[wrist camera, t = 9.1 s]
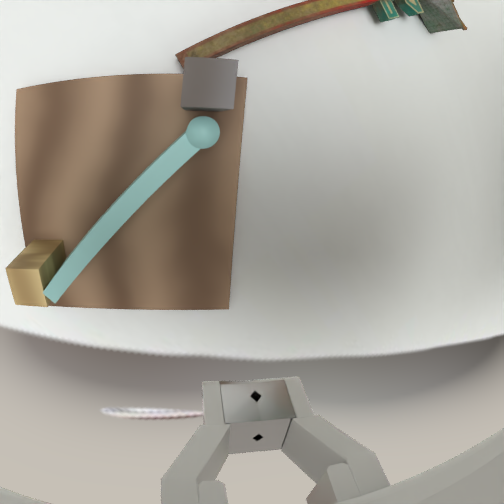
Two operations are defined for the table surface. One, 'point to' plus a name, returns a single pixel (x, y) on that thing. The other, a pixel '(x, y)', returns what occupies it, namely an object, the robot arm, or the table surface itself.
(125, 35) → the table surface
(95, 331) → the table surface
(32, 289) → the gate frame
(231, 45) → the miniature gate
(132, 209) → the gate
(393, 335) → the table surface
